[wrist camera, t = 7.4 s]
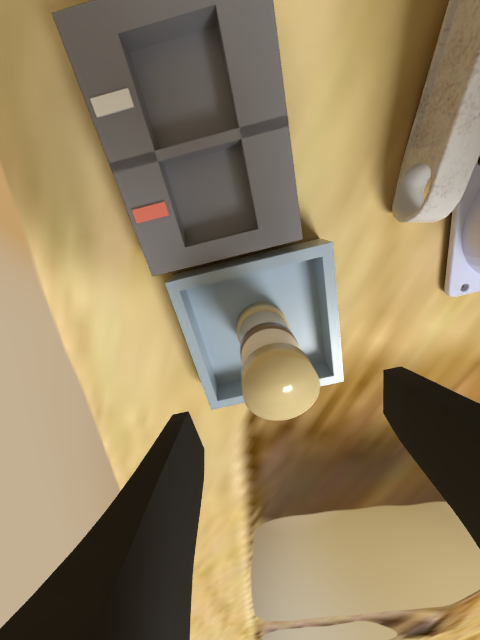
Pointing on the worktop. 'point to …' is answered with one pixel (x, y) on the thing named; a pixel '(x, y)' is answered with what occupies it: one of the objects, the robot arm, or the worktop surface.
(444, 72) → the wrench
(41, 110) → the worktop surface
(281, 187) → the fuse block
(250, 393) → the cylinder
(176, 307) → the parts tray
